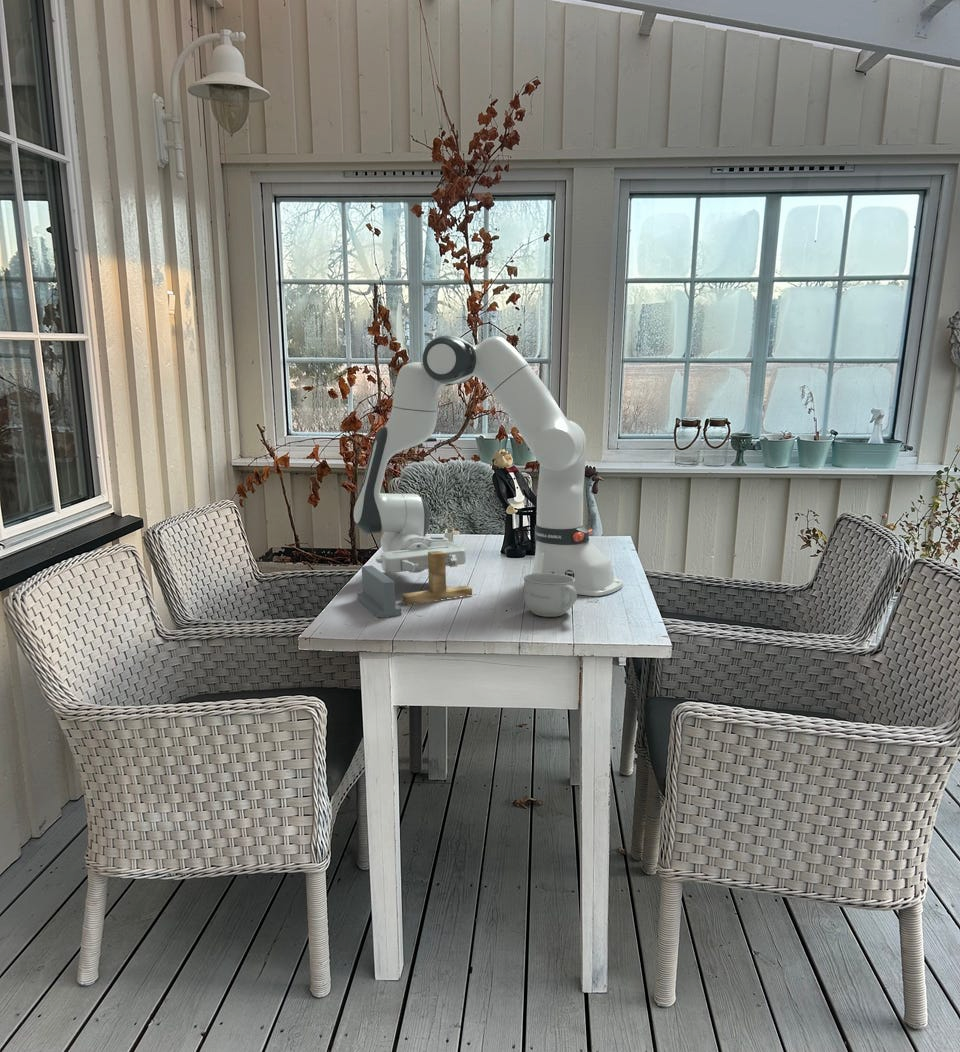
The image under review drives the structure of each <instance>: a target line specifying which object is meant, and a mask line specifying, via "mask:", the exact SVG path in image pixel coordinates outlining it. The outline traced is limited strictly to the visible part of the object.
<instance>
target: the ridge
mask: <svg viewBox="0 0 960 1052" xmlns="http://www.w3.org/2000/svg"><path fill="white" fill-rule="evenodd" d="M361 581H362V583H361V584H362V585H361V586H362V587H361V588H362V591H360V592H357V593H356V599H357V600H358V601H359V602H360V603H361V602H362V603H363V604H364V605H363V604H362V603H361V604H362V605H363V606H365V607H366V608H367V609H368V610H369V611H370V610H371V611H372V612H371V611H370V612H371V613H372V614H373V615H375V616H376V615H377V616H378V617H384V618H388V617H387V616H391V617H396V615H398V616H402V607H400V606H399V605H398V604H397V603H396V583H395V580H393V579H391V578H390V577H389V576H387V575H386V574H384V573H383V572H382V571H381V570H379V569H377V568H376V567H375V566H374V565H364V566H363V565H362V566H361ZM377 616H376V617H377ZM378 617H377V618H378Z"/></svg>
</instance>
